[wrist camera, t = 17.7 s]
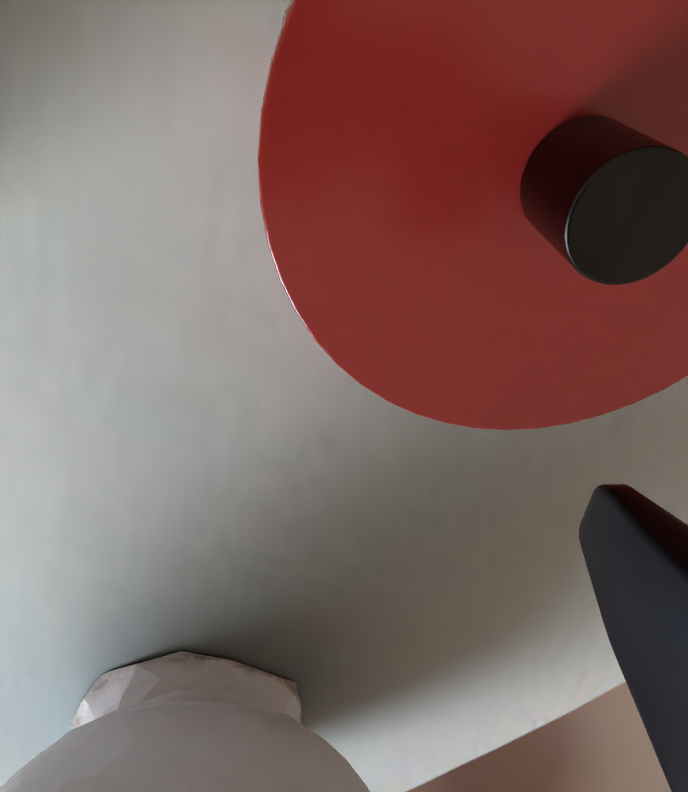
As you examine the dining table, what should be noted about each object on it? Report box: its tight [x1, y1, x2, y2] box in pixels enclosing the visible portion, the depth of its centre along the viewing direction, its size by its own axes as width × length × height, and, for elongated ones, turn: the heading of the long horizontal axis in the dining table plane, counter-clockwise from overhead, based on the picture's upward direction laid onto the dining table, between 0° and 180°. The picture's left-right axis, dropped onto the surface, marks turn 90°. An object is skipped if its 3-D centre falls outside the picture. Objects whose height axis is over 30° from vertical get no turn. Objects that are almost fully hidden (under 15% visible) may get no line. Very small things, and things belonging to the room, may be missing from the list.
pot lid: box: [258, 0, 688, 430], centre depth 12 cm, size 13×13×4 cm
